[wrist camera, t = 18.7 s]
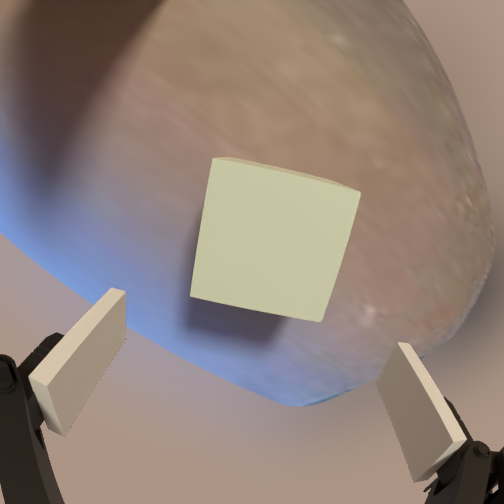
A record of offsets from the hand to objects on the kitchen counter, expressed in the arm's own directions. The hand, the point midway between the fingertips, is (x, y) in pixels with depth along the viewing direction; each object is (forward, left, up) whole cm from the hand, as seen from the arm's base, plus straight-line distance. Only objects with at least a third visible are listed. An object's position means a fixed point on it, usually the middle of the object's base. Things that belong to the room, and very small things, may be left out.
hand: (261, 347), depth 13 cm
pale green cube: (0, +2, -18) cm, 18 cm away
